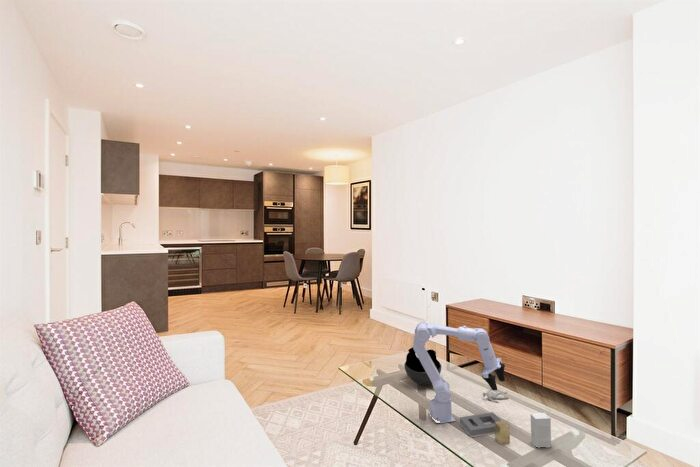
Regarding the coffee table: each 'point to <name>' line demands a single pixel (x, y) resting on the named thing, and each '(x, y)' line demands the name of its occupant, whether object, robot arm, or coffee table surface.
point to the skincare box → (541, 429)
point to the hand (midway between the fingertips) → (498, 385)
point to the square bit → (502, 432)
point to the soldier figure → (494, 395)
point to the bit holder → (479, 424)
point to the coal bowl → (419, 367)
